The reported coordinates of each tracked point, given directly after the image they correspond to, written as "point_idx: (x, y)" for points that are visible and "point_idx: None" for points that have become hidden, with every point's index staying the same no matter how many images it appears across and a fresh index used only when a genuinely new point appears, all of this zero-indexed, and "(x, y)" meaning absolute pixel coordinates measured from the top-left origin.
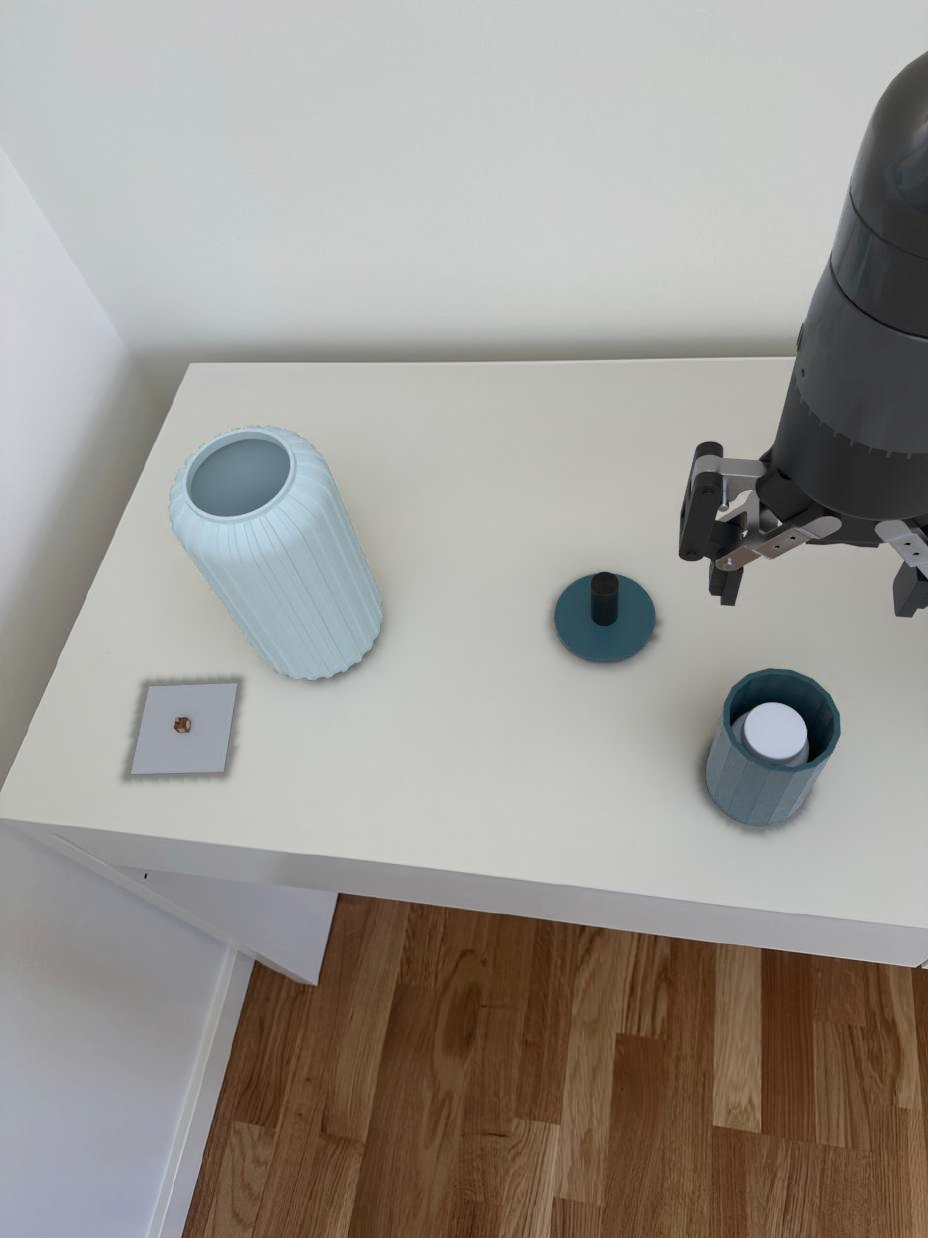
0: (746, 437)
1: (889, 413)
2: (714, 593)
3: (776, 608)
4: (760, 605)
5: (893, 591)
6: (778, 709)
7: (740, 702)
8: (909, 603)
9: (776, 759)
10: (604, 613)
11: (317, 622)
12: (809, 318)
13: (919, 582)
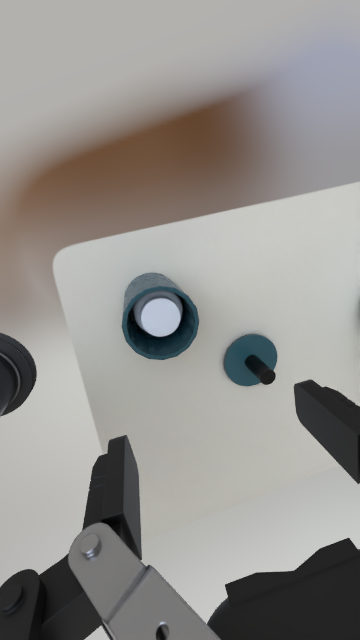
0: (202, 480)
1: None
2: (326, 390)
3: (164, 396)
4: (173, 395)
5: (135, 461)
6: (162, 332)
7: (182, 331)
8: (119, 462)
9: (155, 298)
10: (256, 361)
11: None
12: None
13: (119, 511)
